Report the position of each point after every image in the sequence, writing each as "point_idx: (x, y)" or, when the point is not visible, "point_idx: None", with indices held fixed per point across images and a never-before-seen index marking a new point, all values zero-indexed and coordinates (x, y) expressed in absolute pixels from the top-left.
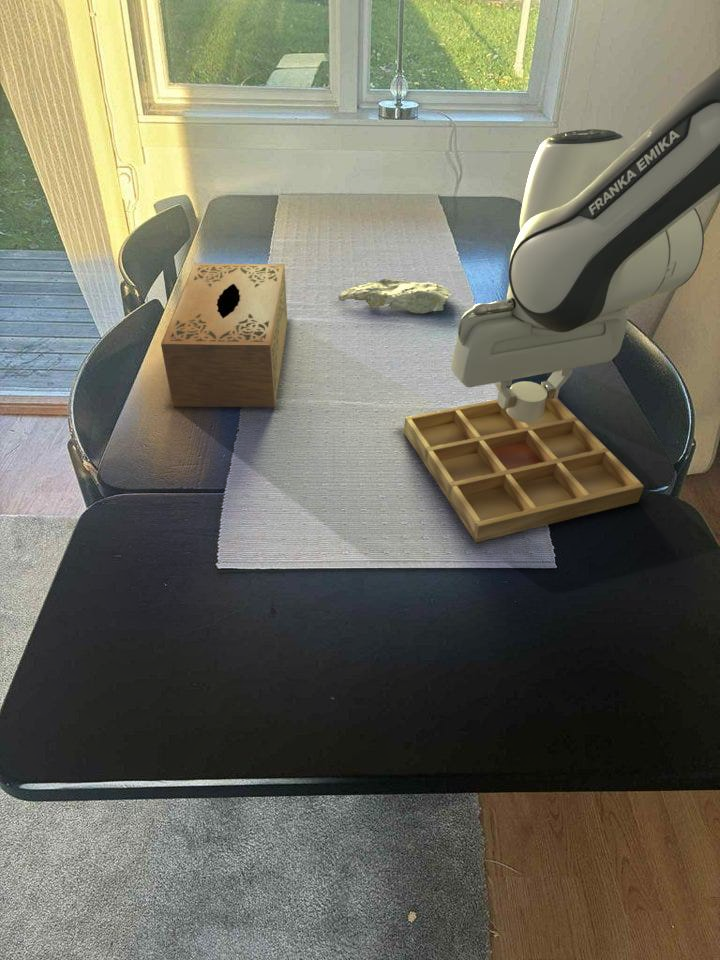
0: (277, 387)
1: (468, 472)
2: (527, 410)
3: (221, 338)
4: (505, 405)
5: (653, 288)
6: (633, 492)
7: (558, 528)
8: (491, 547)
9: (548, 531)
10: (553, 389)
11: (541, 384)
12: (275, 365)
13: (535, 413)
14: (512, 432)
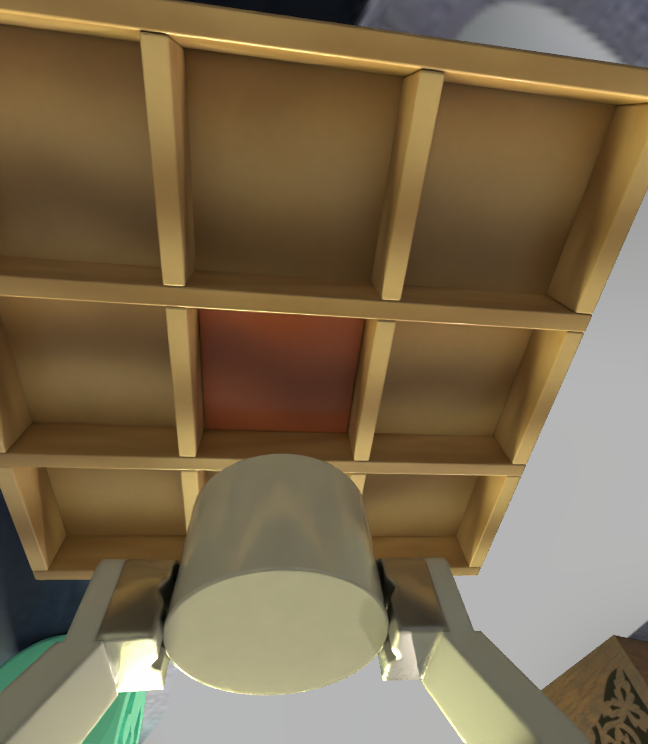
0: (575, 670)
1: (436, 373)
2: (336, 520)
3: None
4: (450, 576)
5: None
6: None
7: (325, 3)
8: (607, 33)
9: (371, 7)
10: (120, 633)
11: (167, 668)
12: (614, 730)
13: (285, 493)
14: None
